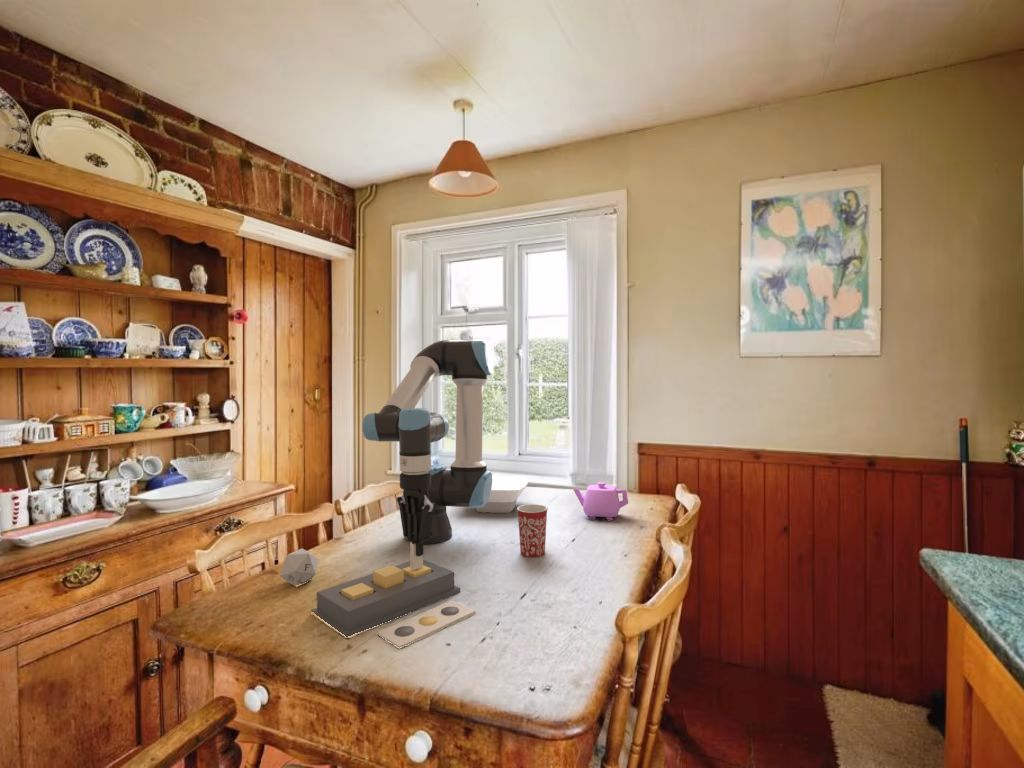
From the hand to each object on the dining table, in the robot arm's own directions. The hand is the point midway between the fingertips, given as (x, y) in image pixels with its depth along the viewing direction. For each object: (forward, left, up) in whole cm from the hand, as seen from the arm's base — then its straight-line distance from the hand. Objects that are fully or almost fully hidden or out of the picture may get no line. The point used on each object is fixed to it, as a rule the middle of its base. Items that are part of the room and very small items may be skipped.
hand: (416, 567), depth 124 cm
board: (0, -8, -6) cm, 10 cm away
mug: (+3, +41, -6) cm, 42 cm away
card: (+15, -8, -6) cm, 18 cm away
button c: (0, 0, -4) cm, 4 cm away
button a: (0, -16, -4) cm, 17 cm away
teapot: (-3, +85, -6) cm, 85 cm away
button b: (0, -8, -3) cm, 8 cm away
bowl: (-41, +68, -6) cm, 80 cm away
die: (-27, -17, -6) cm, 33 cm away
